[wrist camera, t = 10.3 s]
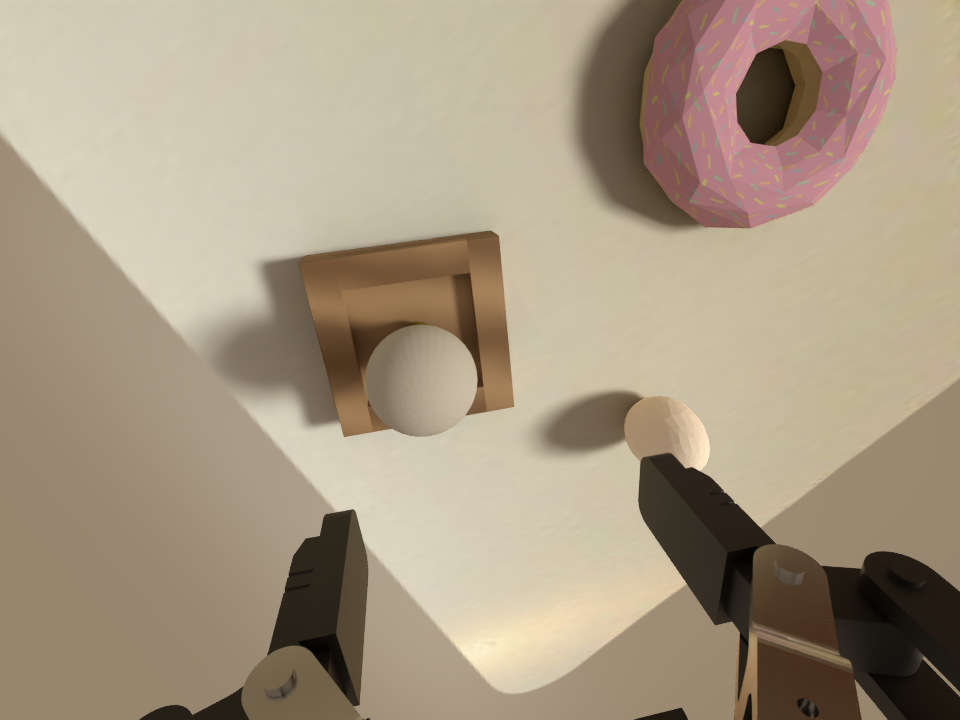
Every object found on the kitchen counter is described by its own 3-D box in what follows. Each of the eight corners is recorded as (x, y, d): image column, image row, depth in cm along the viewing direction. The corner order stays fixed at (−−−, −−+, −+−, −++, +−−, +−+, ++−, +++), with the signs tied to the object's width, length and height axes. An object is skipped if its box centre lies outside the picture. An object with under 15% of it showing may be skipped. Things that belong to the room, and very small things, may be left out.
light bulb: (391, 388, 32) (389, 475, 23) (357, 311, 30) (339, 374, 21) (471, 359, 33) (500, 435, 23) (444, 280, 30) (464, 330, 21)
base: (305, 255, 30) (298, 263, 27) (491, 230, 31) (498, 235, 29) (347, 419, 34) (344, 437, 32) (506, 391, 36) (514, 406, 33)
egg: (683, 406, 39) (746, 459, 32) (636, 450, 40) (687, 510, 33) (645, 369, 37) (703, 416, 30) (597, 416, 38) (642, 473, 31)
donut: (837, 189, 34) (904, 193, 30) (641, 251, 33) (679, 265, 29) (849, -78, 28) (938, -126, 23) (608, -8, 27) (650, -43, 23)
